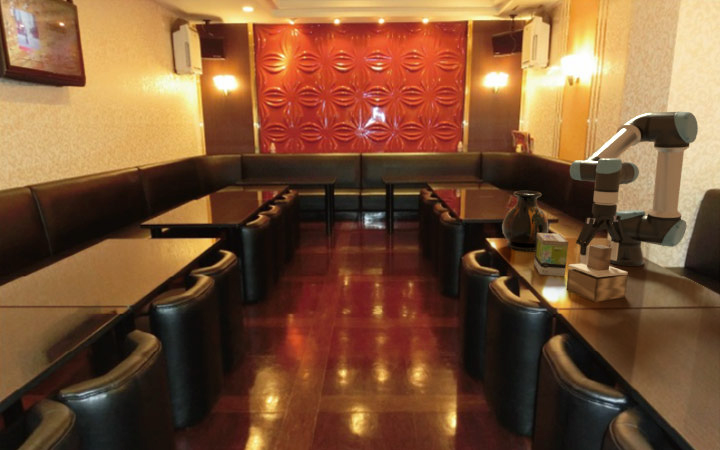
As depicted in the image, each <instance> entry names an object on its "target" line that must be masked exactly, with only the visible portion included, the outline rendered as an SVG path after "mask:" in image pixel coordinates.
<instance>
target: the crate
mask: <svg viewBox="0 0 720 450" xmlns="http://www.w3.org/2000/svg"><path fill="white" fill-rule="evenodd" d="M627 283H628V274H626V275H616V276H605V277H595V276H592V275H590V274H587V273H584V272H582V271H579V270H576V269H573V268H568V269H567V280H566V289H565V290H566V291H568V292H571V293H573V294H575V295H578V296H580V297H582V298H584V297H585V299H587V300H589V301H592V302H594V303H598V302H604V301H608V299H610V300H614V299H620V298H625V297H626V293H627V285H628V284H627Z"/></svg>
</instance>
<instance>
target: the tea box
mask: <svg viewBox="0 0 720 450" xmlns="http://www.w3.org/2000/svg"><path fill="white" fill-rule="evenodd" d="M568 249H569V241H568V240H567V239H566V238H565V237H564V236H563V235H562V234H561V233H549V232H548V233H537V237H536V248H535V251H534V263H533V264H534V266H535V268H536V270H537V271H538V274H539V275H542V276H552V277H554V276H555V277H556V276H557V277H565V275H566V270H567V269H566V267H567V257H568Z"/></svg>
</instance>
